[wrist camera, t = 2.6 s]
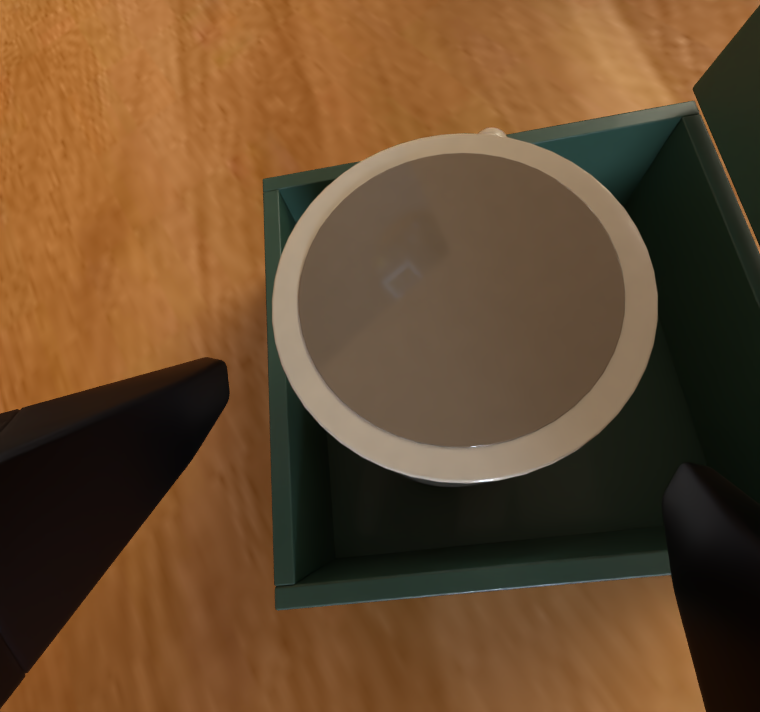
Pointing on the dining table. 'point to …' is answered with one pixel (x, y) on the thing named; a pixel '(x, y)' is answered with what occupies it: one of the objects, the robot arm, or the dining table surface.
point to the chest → (581, 468)
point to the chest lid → (737, 113)
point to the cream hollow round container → (464, 308)
